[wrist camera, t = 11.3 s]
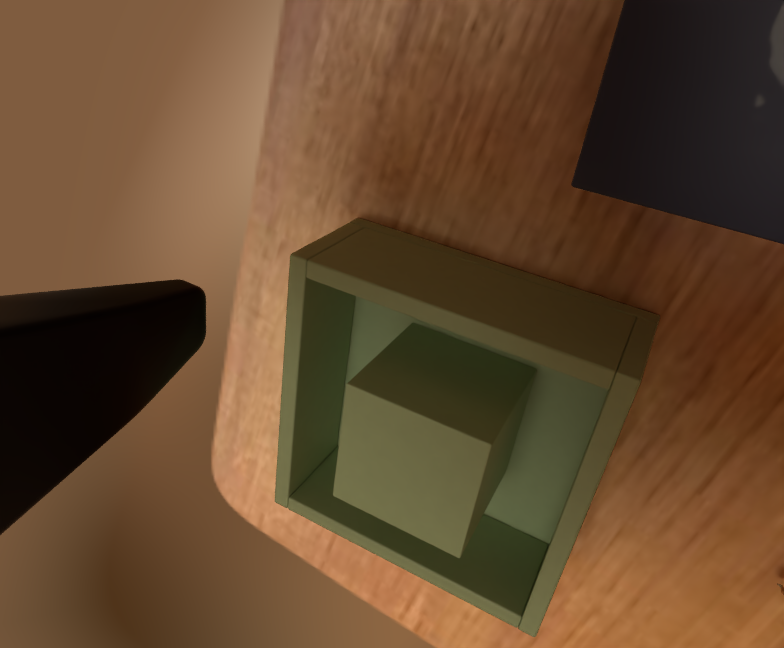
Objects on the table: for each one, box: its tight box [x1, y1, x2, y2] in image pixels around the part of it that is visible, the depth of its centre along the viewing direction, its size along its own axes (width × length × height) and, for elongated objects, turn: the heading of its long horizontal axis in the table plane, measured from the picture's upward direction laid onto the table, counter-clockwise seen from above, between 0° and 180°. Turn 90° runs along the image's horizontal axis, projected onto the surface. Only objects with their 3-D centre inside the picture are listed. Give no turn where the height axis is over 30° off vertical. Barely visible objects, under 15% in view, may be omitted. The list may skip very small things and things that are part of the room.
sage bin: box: [275, 218, 660, 637], centre depth 21 cm, size 10×10×4 cm
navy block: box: [572, 0, 784, 244], centre depth 14 cm, size 4×4×4 cm
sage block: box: [333, 323, 537, 558], centre depth 21 cm, size 4×4×4 cm
